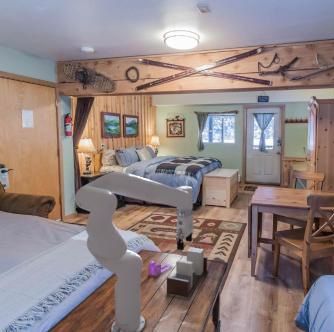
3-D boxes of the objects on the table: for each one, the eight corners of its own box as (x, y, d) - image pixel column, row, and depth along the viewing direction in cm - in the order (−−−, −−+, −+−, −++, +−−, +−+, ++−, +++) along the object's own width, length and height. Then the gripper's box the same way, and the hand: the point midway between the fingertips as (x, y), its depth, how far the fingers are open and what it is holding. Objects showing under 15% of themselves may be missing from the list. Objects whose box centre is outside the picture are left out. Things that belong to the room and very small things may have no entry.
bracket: (155, 278, 144) (155, 265, 143) (148, 275, 147) (148, 262, 146) (173, 268, 155) (173, 256, 154) (166, 265, 158) (166, 253, 157)
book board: (187, 299, 127) (188, 281, 126) (166, 295, 130) (166, 277, 128) (206, 272, 152) (207, 256, 151) (188, 269, 155) (188, 253, 153)
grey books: (187, 295, 129) (187, 280, 128) (170, 291, 131) (170, 277, 130) (195, 283, 138) (195, 270, 137) (179, 280, 140) (179, 267, 139)
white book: (190, 288, 134) (191, 264, 132) (176, 285, 136) (176, 261, 134) (192, 286, 136) (192, 262, 134) (177, 283, 138) (178, 259, 136)
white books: (200, 275, 146) (200, 252, 144) (186, 273, 148) (186, 250, 146) (203, 271, 150) (203, 249, 149) (190, 269, 152) (190, 247, 151)
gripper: (184, 218, 121) (184, 254, 124) (198, 207, 138) (198, 239, 140) (169, 216, 123) (169, 252, 126) (185, 206, 140) (185, 237, 142)
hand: (184, 245), depth 133 cm, fingers open, 9 cm apart
